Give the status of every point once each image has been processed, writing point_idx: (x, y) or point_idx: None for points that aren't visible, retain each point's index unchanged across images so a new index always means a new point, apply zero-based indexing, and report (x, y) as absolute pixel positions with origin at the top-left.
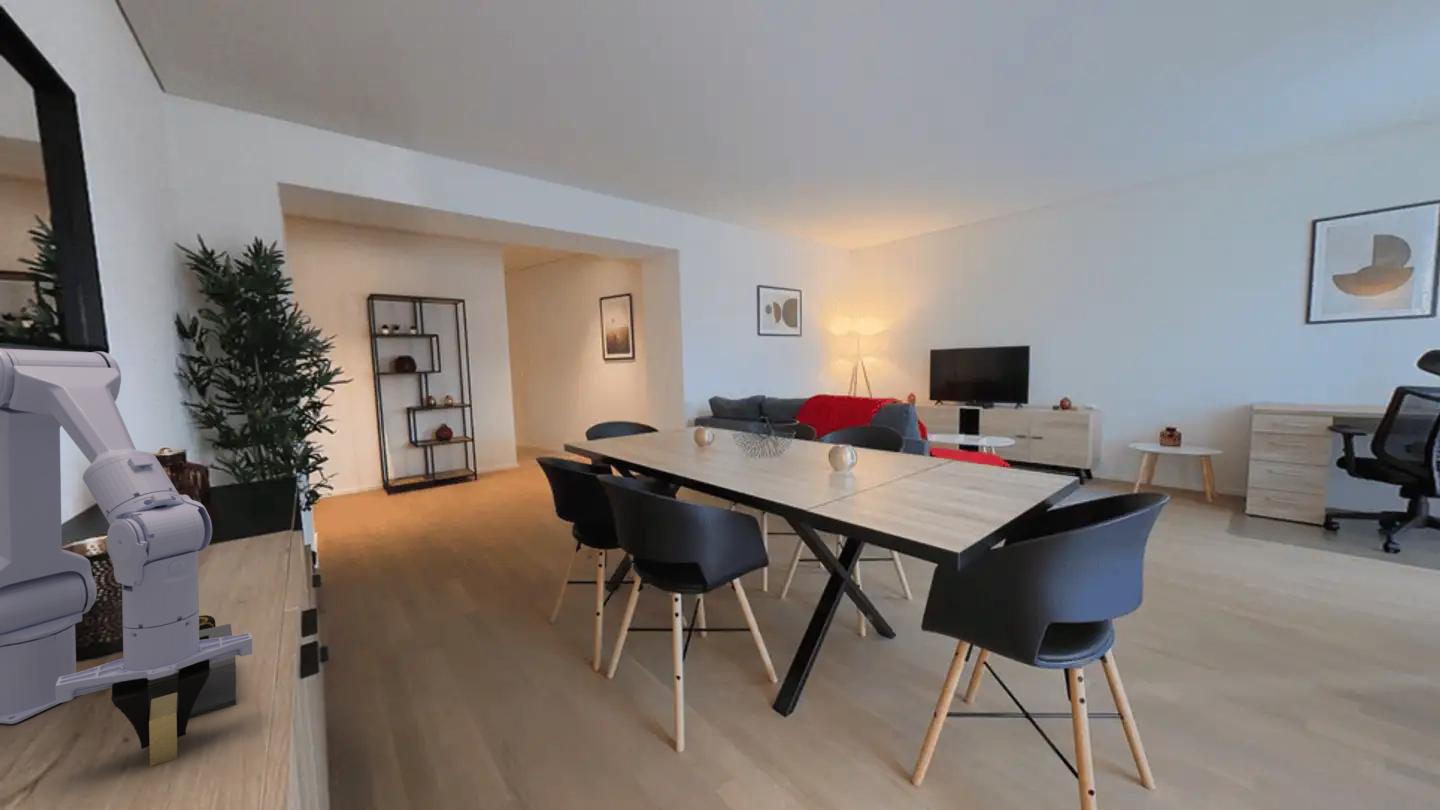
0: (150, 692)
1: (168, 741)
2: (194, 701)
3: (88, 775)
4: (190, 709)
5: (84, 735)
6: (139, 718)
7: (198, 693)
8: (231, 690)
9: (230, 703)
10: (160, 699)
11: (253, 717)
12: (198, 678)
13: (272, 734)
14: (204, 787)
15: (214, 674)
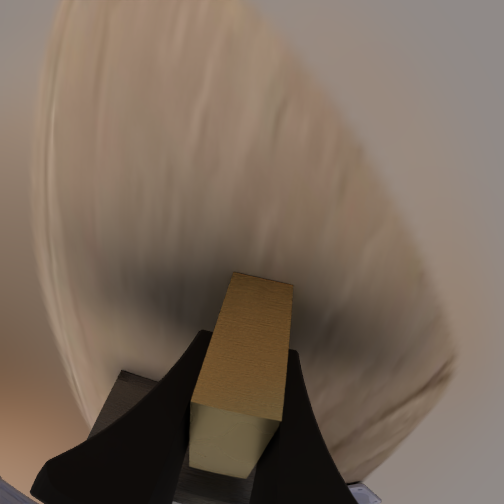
0: (241, 485)
1: (241, 319)
2: (130, 409)
3: (382, 351)
4: (154, 390)
5: (329, 444)
6: (302, 446)
7: (104, 431)
8: (113, 400)
9: (128, 377)
10: (228, 469)
11: (84, 298)
12: (56, 496)
13: (43, 182)
14: (201, 24)
15: None
